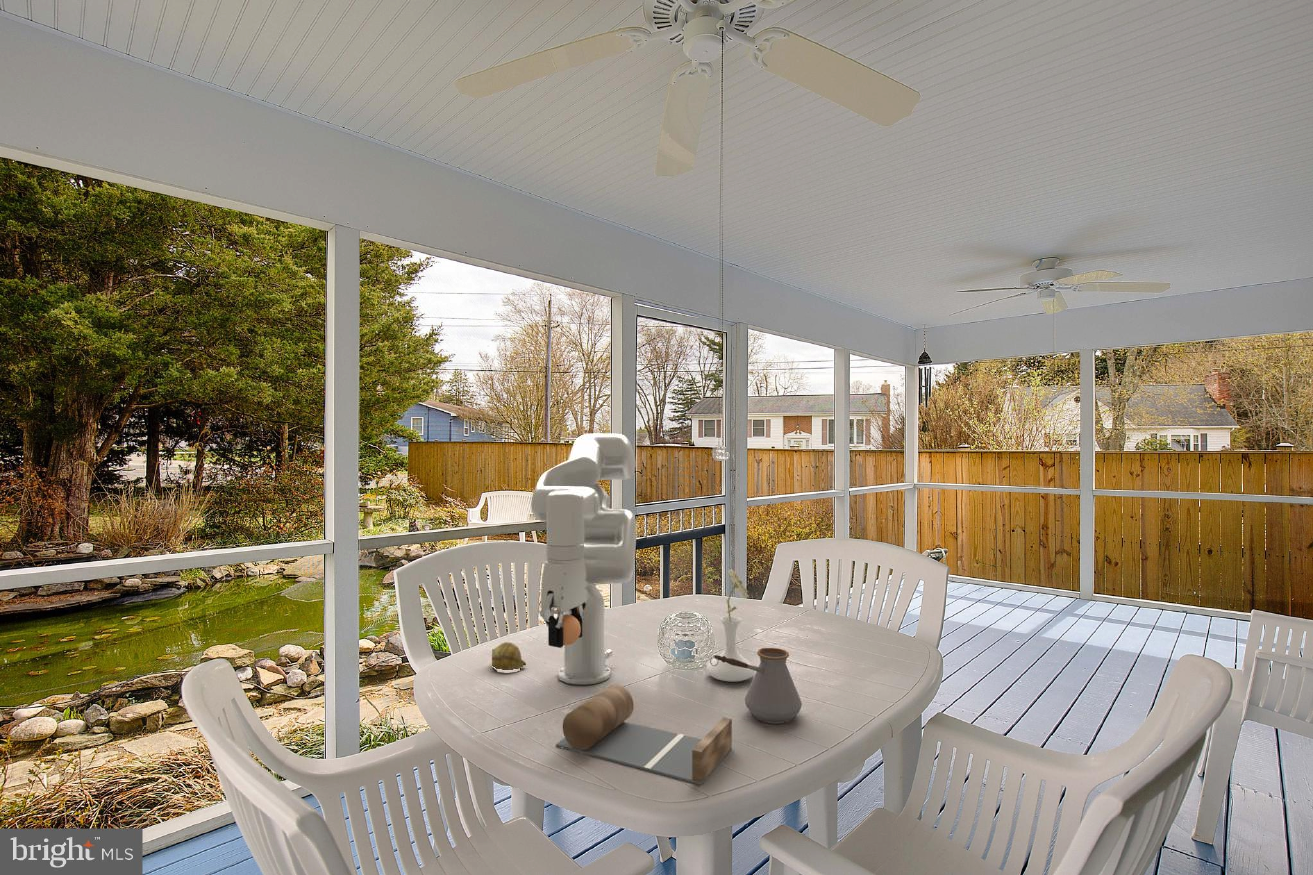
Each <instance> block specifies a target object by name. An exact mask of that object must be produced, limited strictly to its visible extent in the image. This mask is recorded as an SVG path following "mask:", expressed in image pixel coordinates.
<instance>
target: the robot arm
mask: <svg viewBox="0 0 1313 875" xmlns="http://www.w3.org/2000/svg"><path fill="white" fill-rule="evenodd" d="M636 461H637V460H636V454H635V452H634V449H633V446H632V444H631V442H630V439H628V437H626V436H625V435H624V434H621V433H587V434H582V435H579V437H577V438H576V440H574V442H573V445H572V447H571V450H570V452H569V455H568V458H567V460H566V461H564V462H561V463H559V464H557V465H555V466H554V467H552V468H550V469H548V470H547V471H544V473H542V475H540V477H539V478H538V480H537V483H536V485H535V488H534V489H533V493H532V496H531V502H530V506H531V507H530V508H531V513H532V515H533V517H534V518H535V519H536V520H538V521H540V522H546V561H544V564H543V571H542V576H541V577H542V578H541V588H540V589H541V590H540V611H539V616H540V617H541V618H542V619H543V621H544V622H545V624H546V627H547V628H548V632H547V633H548V634H547V635H548V637H547V639H548V640H547V641H548V643H547V644H548V646H550V647H554V648H559V649H561V648H564V654H563V657H564V659H563V661H564V662H563V664H564V665H563V666H561V667H560V668H559V669H558V671H557V678H558V680H559V681H561V682H563V681H564V682H563V683H565V682H566V684H569V683H570V685H578V686H581V685H582V686H583V685H584V686H586V685H593V684H599V683H602V682H604V681H606V680H608V679H609V678H610V677H611V674H612V669H611V667H610V666H608V665H607V664H606V661H607V659H609V658H610V657H612V656H613V651H612V649H609V648H608V649H605V600H604V596H603V594H602V593H601V591H600V590H599V588H597V587H596V584H597V585H599V584H625V583H629V582H630V581H631V580H632V578H633V575H634V571H635V561H636V546H637V530H638V529H637V520H636V519H637V518H636V516H635V514H634V513H633V512H632V511H631V510H629V509H626V508H610V504H611V498H610V496H609V495H608V493H607V492H606V490H605V489H604V488H603V487H602V486H601V485H600V484H599V483H598V482H599V480H611V481H612V480H614V481H615V480H617V481H618V480H619V481H620V480H622V481H623V480H628V479H631V478H632V477H633V476H634V474H635V472H636V464H637V463H636ZM565 614H568V615H572V616H574V617H575V618H576V619H577V620H578V621H579V623H580V627H581V632H580V636H579V638H578V639H577V640H576V641H575V642H574V643H572V644H570V645H563V627H561V623H562V619H563V615H565ZM554 615H557V616H556V617H555V616H554ZM556 618H557V620H556Z"/></svg>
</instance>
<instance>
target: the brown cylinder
mask: <svg viewBox="0 0 1313 875" xmlns="http://www.w3.org/2000/svg"><path fill="white" fill-rule="evenodd" d="M633 711H634V699H633V697H632V695H631V693H630V691H629V690H628V688H626V687H624V686H622V685H620V684H611V685H609V686H608V687H607V688H605V689H603V690H602V691H599V692H598V693H597V694H595V695H594V696H592V697H591V698H589V699H588V700H586V701H585V702H583V703H581V705H579V706H576V707H575V708H574V709H572V710H571V711H569V713H566V715H565V716H564V718H563V720H562V733H563V736H564V738H566V740H567V742H568V743H569V744H570V745H571V746H572V747H573V748H575V749H577V750H582V751H583V750H587V749H589V748H590V747H591V746H593V745H594V744H595V743H596V742H598V741H599V740H600V739H602V738H603V737H604V736H606V735H607V734H608V733H609V732H611V731H612V730H613V729H615V728H616V727H617V726H619V725H620V724H621V723H622V722H626V720H627V719H629V718H630V717H631V716H632V714H633Z"/></svg>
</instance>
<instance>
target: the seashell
mask: <svg viewBox="0 0 1313 875" xmlns="http://www.w3.org/2000/svg"><path fill="white" fill-rule="evenodd" d="M526 665H527V663H526V661H525V660H523V659H522V653H521V651H520V648H519V647H518V646H517V645H516V644H515V643H513V642H508V641H507V642H506V641H505V642H502V643H500V644H498V645H497V646H495V647H494V648H493V649H492V650H491V667H492V666H493V667H495V668H496V669H502V670H513V669H519V668H521V667H522V668H523V667H524V666H526Z"/></svg>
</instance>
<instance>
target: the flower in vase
mask: <svg viewBox="0 0 1313 875" xmlns="http://www.w3.org/2000/svg"><path fill="white" fill-rule="evenodd" d="M728 574H729V577H730V579H731V581H732V582H733V587H732V588H731V590H730V593H729V595H728V598H727V599H726V600H725V601H726V604H727V611H726V613H728V615H727V616H725V615H724V616H722V617H720V618H719V621H721V623H722V625H723V627H724V632H725V647H724V649H723V651H722V652H721V653H720V654H719V656H721V657H723V656H725V657H726V658H733V659H736V660H739V661H741V662H744V663H747V664H749V665H753V664H752V663H751V662H750V661H749V660H748V659H747V658H746V657H744V656H743V655H741V653H740V652H739V651H738V649H737V647H736V635H737V629H738V626H739V624H740V623H741V622H742V618H741V617H738V616H734V615H731V612H734V611H735V610H736V609H738V608H737V607H736V606H733V607H731V605H730V599H731V596H732V594H733V591H734V590H735V588H736V589H737V591H738V592H739V593H740V595H741V596H742V597H744V598H745V599H747V598H749V597H750V595H748V590H747V589H746V587H745V586H744V584H743V583H744V582H743V580H742V579H741V578H739V576H738V574H737V572H736V571H734V570H733V569H732V568H731V569H730V570H728ZM717 661H718V660H717V659H715V658H714V659H713V658H712V659H711V663H712V665H716V664H717ZM711 663H710V662H709V663H708V664H707V667H706V672H707V673H708V675H709V676H710V677H712V678H713V679H716V680H718V681H719V680H720V681H722V682H723V681H724V682H731V683H733V682H734V683H735V682H742V681H746V680H749V679H751V678H752V677H754V676H755V674H756V671H754V670H751V669H748V668H743V667H738V666H734V665H730V664H729V663H727V662H724V663H723V662H722V661H721V660H719V661H718V664H717V665H716V666H712V665H711Z"/></svg>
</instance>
